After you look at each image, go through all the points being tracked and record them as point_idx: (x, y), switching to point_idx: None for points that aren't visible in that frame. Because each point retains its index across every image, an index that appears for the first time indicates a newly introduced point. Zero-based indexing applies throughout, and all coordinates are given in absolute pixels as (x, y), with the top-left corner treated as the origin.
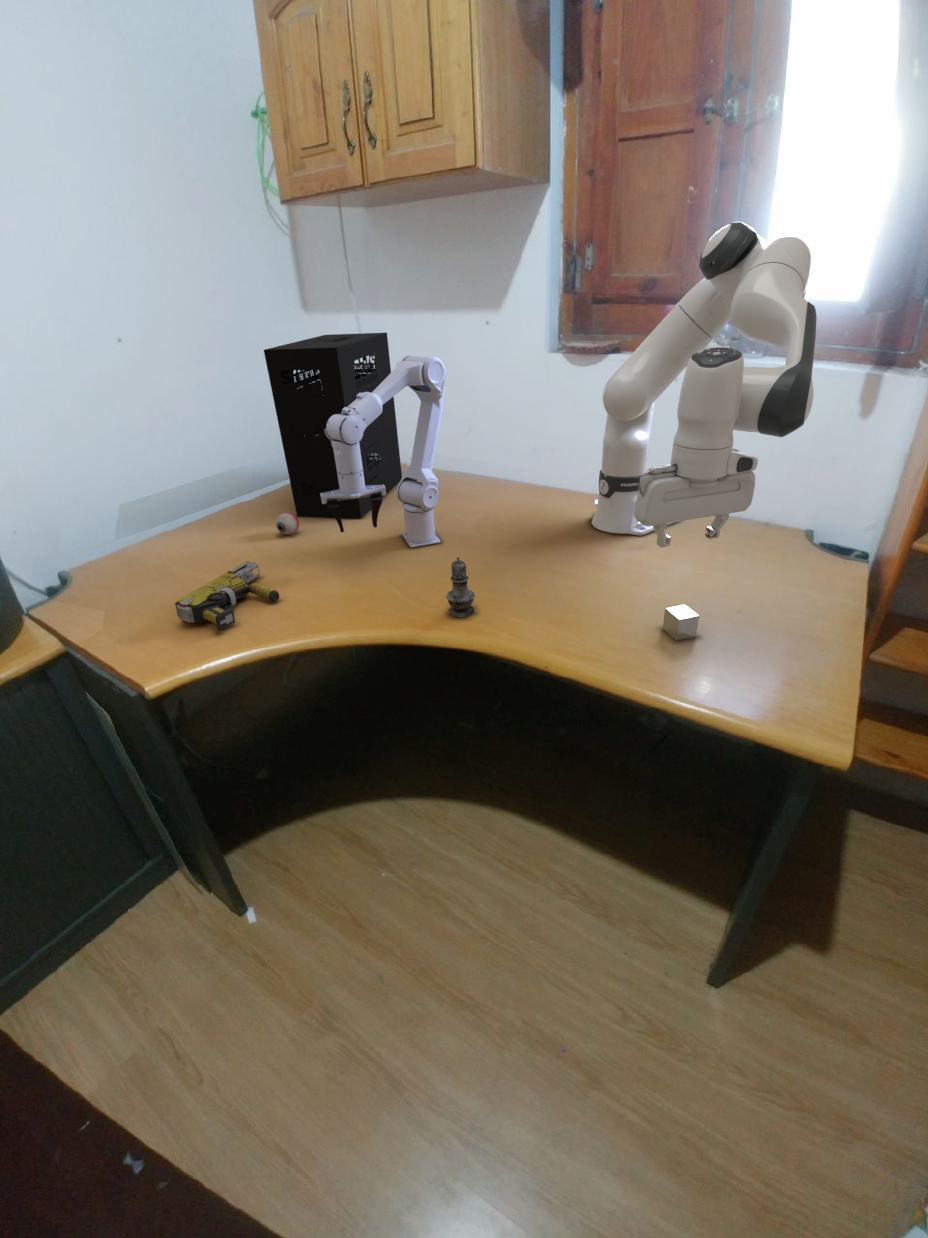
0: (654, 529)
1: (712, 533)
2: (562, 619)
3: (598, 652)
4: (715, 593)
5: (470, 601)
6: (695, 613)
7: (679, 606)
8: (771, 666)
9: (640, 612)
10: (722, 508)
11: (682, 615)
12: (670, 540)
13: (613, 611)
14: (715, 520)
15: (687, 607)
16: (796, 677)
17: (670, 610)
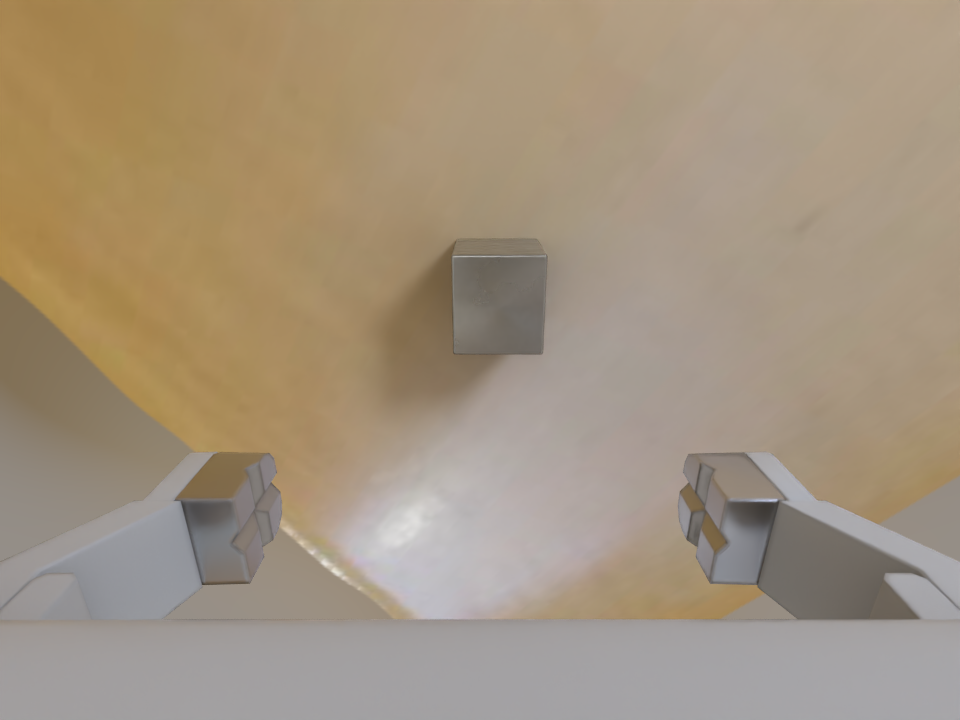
0: (53, 539)
1: (699, 558)
2: (91, 8)
3: (179, 296)
4: (848, 46)
5: None
6: (540, 335)
7: (515, 265)
8: (624, 514)
9: (442, 83)
10: None
11: (483, 331)
12: (260, 560)
13: (335, 26)
14: (849, 558)
15: (541, 283)
16: (641, 563)
17: (461, 281)
